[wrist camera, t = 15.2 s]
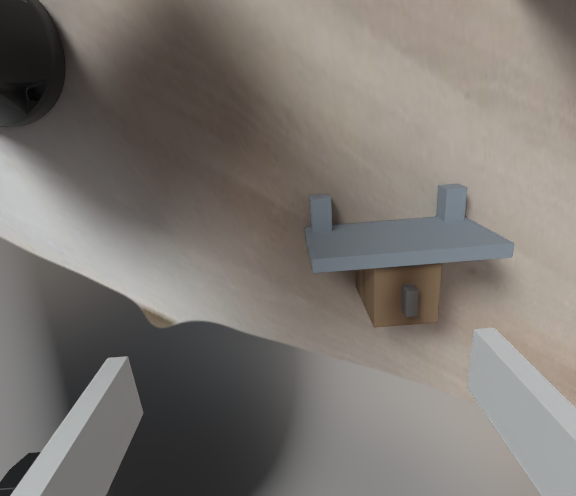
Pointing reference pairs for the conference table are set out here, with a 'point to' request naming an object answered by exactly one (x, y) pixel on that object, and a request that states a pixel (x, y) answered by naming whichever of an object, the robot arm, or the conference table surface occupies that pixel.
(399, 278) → the cabinet block
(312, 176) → the conference table surface
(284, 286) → the conference table surface
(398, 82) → the conference table surface
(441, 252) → the wall board
